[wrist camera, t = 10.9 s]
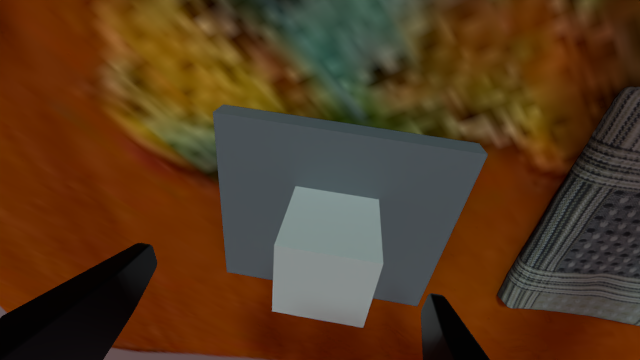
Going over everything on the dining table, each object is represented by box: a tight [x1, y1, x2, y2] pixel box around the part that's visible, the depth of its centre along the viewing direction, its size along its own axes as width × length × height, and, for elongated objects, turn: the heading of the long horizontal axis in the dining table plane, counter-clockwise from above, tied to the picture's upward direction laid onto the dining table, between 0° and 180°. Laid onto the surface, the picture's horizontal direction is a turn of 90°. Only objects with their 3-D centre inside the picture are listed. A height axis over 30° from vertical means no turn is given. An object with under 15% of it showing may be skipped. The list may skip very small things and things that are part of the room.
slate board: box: [213, 105, 488, 306], centre depth 22 cm, size 16×14×2 cm
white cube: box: [272, 186, 383, 328], centre depth 19 cm, size 6×6×6 cm
